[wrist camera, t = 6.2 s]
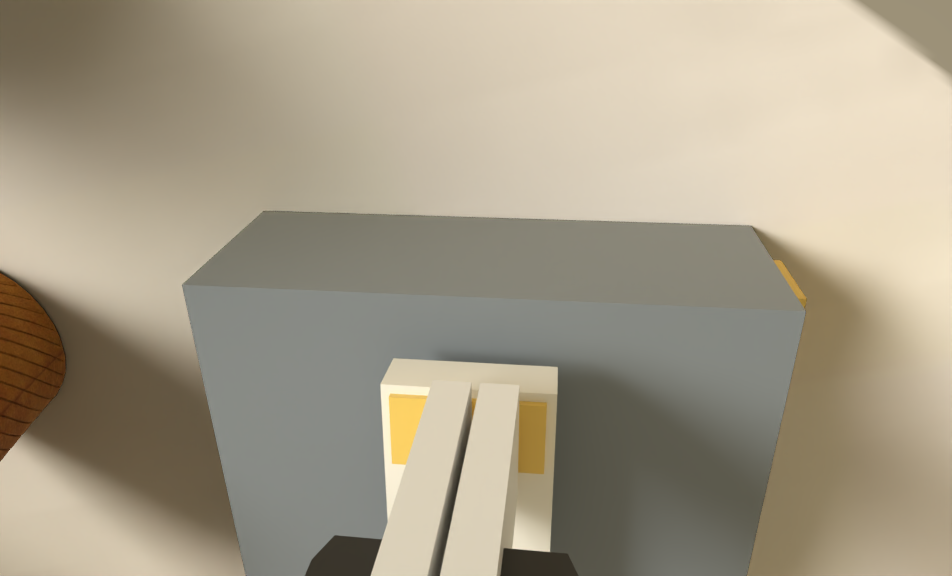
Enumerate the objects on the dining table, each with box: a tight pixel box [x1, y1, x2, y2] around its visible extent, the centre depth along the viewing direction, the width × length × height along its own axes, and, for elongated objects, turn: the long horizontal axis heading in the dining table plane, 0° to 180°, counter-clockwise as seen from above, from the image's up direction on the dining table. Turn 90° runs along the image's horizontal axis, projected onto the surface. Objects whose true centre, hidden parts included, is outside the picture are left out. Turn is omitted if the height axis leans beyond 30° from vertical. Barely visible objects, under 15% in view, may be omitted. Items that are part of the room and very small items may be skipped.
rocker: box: [380, 358, 558, 552], centre depth 16 cm, size 4×8×1 cm, turn 1°
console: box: [182, 211, 807, 576], centre depth 22 cm, size 14×20×6 cm
